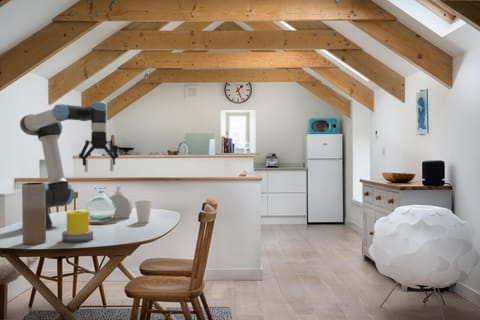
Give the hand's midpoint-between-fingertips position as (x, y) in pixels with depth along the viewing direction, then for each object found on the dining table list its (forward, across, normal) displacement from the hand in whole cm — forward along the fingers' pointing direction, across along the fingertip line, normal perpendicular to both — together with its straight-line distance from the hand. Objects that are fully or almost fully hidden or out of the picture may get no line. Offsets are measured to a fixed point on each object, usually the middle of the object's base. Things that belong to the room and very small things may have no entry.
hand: (99, 171), depth 240 cm
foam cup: (+32, +31, +15) cm, 47 cm away
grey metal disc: (+32, -16, -17) cm, 39 cm away
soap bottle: (+32, +25, +40) cm, 57 cm away
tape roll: (+28, -16, -17) cm, 36 cm away
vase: (+32, -34, -12) cm, 48 cm away
